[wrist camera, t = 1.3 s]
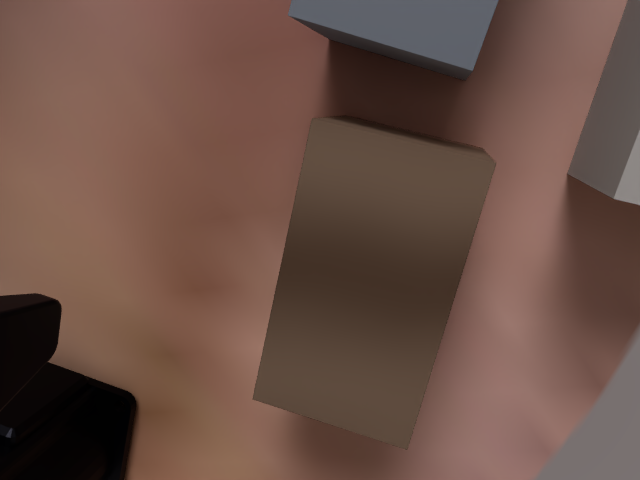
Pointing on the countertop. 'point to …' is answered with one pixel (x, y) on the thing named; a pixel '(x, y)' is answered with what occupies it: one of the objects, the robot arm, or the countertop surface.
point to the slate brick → (405, 29)
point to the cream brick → (615, 119)
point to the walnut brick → (369, 274)
